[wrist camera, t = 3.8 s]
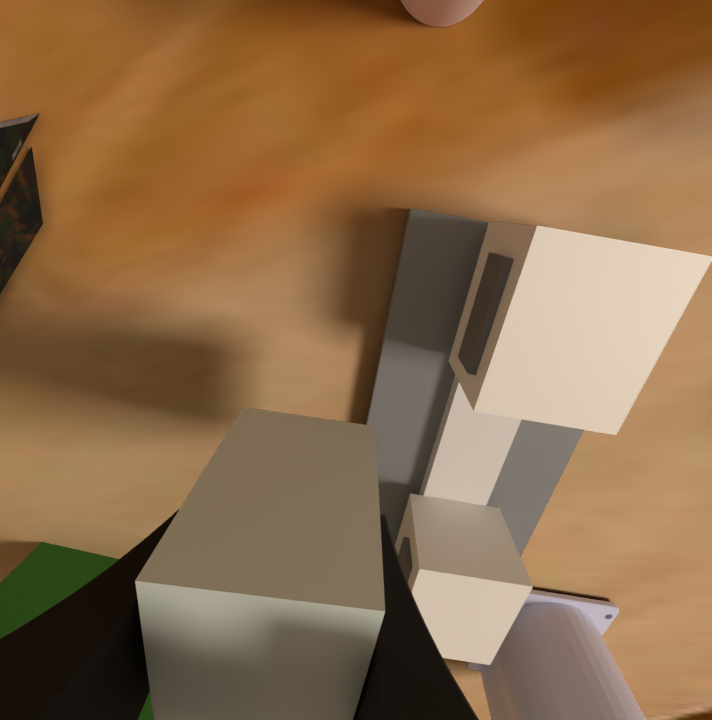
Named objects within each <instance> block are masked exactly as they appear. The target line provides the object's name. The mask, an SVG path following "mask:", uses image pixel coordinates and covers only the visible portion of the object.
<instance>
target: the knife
mask: <svg viewBox="0 0 712 720" xmlns="http://www.w3.org/2000/svg"><path fill="white" fill-rule="evenodd" d="M39 114H40V113H39ZM39 114H35V115H30V116H26V117H22V118H17V119H13V120H8V121H4V122H0V187H1V185H2V183H3V181H4V179H5V178H6V176H7V174H8V172H9V170H10V168H11V166H12V164H13V163H14V161H15V159H16V157H17V155H18V153H19V151H20V149H21V148H22V146H23V144H24V142H25V140H26V138H27V136H28V134H29V133H30V131H31V129H32V127H33V125H34V123H35V121H36V119H37V118H38V116H39ZM42 224H43V221H42V214H41V207H40V200H39V194H38V187H37V180H36V173H35V166H34V159H33V152H32V147H31V148H30V150H29V152H28V154H27V156H26V158H25V160H24V161H23V163H22V165H21V167H20V169H19V171H18V172H17V174H16V176H15V178H14V180H13V182H12V183H11V185H10V187H9V189H8V191H7V193H6V194H5V196H4V198H3V200H2V202H1V204H0V294H1V292H2V290H3V289H4V287H5V285H6V284H7V282H8V280H9V279H10V277H11V275H12V274H13V272H14V270H15V269H16V267H17V265H18V264H19V262H20V261H21V259H22V257H23V256H24V254H25V252H26V251H27V249H28V247H29V246H30V244H31V242H32V241H33V239H34V237H35V236H36V234H37V233H38V231H39V229H40V228H41V226H42Z"/></svg>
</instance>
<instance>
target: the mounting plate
mask: <svg viewBox="0 0 712 720" xmlns="http://www.w3.org/2000/svg"><path fill="white" fill-rule="evenodd" d="M711 261H712V256H707V255H701V254H695V253H690V252H684V251H678V250H673V249H667V248H661V247H656V246H650V245H644V244H639V243H633V242H627V241H622V240H616V239H610V238H605V237H599V236H593V235H588V234H582V233H576V232H571V231H565V230H559V229H554V228H548V227H542V226H536V225H523V224H511V223H498V222H484V221H478V220H473V219H467V218H461V217H456V216H450V215H444V214H439V213H433V212H427V211H422V210H416V209H409V212H408V217H407V222H406V227H405V232H404V237H403V242H402V247H401V252H400V257H399V261H398V266H397V271H396V276H395V281H394V286H393V291H392V296H391V301H390V306H389V311H388V315H387V320H386V325H385V330H384V335H383V340H382V345H381V350H380V355H379V360H378V365H377V370H376V374H375V379H374V384H373V389H372V394H371V399H370V404H369V409H368V414H367V419H366V424H365V425H371V426H375V431H376V450H377V468H378V487H379V506H380V514H382V515H385V516H386V517H387V520H388V524H389V528H390V532H391V536H392V539H393V542H394V546H395V549H396V552H397V555H398V558H399V561H400V564H401V566H402V569H403V572H404V574H405V577H406V579H407V582H408V585H409V587H410V590H411V592H412V594H413V597H414V599H415V601H416V604H417V606H418V608H419V611H420V613H421V615H422V617H423V619H424V622H425V624H426V626H427V628H428V630H429V632H430V634H431V636H432V638H433V640H434V642H435V644H436V646H437V648H438V650H439V652H440V654H441V656H442V657H443V658H447V659H454V660H460V661H467V662H473V663H480V664H486V665H490V664H491V663H492V661H493V659H494V657H495V655H496V653H497V652H498V650H499V648H500V646H501V644H502V642H503V641H504V639H505V637H506V635H507V633H508V631H509V630H510V628H511V626H512V624H513V622H514V621H515V619H516V617H517V615H518V613H519V611H520V610H521V608H522V606H523V604H524V602H525V600H526V599H527V597H528V595H529V593H530V591H531V590H532V588H533V586H532V583H531V581H530V579H529V576H528V574H527V572H526V569H525V567H524V565H523V562H522V560H521V555H522V553H523V551H524V549H525V547H526V545H527V543H528V541H529V539H530V537H531V535H532V533H533V531H534V529H535V527H536V525H537V523H538V521H539V519H540V517H541V515H542V513H543V511H544V509H545V507H546V505H547V503H548V501H549V499H550V497H551V495H552V493H553V491H554V489H555V487H556V485H557V483H558V481H559V479H560V477H561V475H562V473H563V471H564V469H565V467H566V465H567V463H568V461H569V459H570V457H571V455H572V453H573V451H574V449H575V447H576V445H577V443H578V441H579V439H580V437H581V435H582V433H583V431H584V430H589V431H595V432H601V433H607V434H613V435H616V434H617V433H618V431H619V429H620V427H621V425H622V423H623V422H624V420H625V418H626V416H627V414H628V412H629V411H630V409H631V407H632V405H633V403H634V402H635V400H636V398H637V396H638V394H639V392H640V391H641V389H642V387H643V385H644V383H645V381H646V380H647V378H648V376H649V374H650V372H651V370H652V369H653V367H654V365H655V363H656V361H657V360H658V358H659V356H660V354H661V352H662V350H663V349H664V347H665V345H666V343H667V341H668V339H669V338H670V336H671V334H672V332H673V330H674V329H675V327H676V325H677V323H678V321H679V319H680V318H681V316H682V314H683V312H684V310H685V308H686V307H687V305H688V303H689V301H690V299H691V297H692V296H693V294H694V292H695V290H696V288H697V287H698V285H699V283H700V281H701V279H702V277H703V276H704V274H705V272H706V270H707V268H708V266H709V265H710V263H711Z"/></svg>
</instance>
